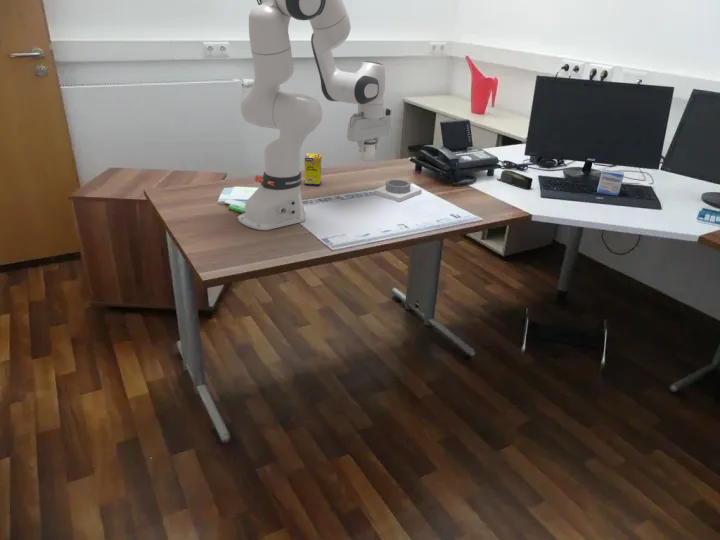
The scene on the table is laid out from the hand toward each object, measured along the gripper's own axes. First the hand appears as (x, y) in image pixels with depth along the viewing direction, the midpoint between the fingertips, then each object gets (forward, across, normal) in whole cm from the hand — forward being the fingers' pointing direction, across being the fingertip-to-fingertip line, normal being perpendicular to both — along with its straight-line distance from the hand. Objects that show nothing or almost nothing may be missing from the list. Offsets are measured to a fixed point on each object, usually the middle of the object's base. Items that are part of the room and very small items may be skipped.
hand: (367, 150), depth 197 cm
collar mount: (+16, +10, -8) cm, 20 cm away
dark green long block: (+15, +54, -33) cm, 65 cm away
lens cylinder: (+3, 0, 0) cm, 3 cm away
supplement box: (+16, -5, +22) cm, 28 cm away
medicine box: (+15, +73, -64) cm, 98 cm away
